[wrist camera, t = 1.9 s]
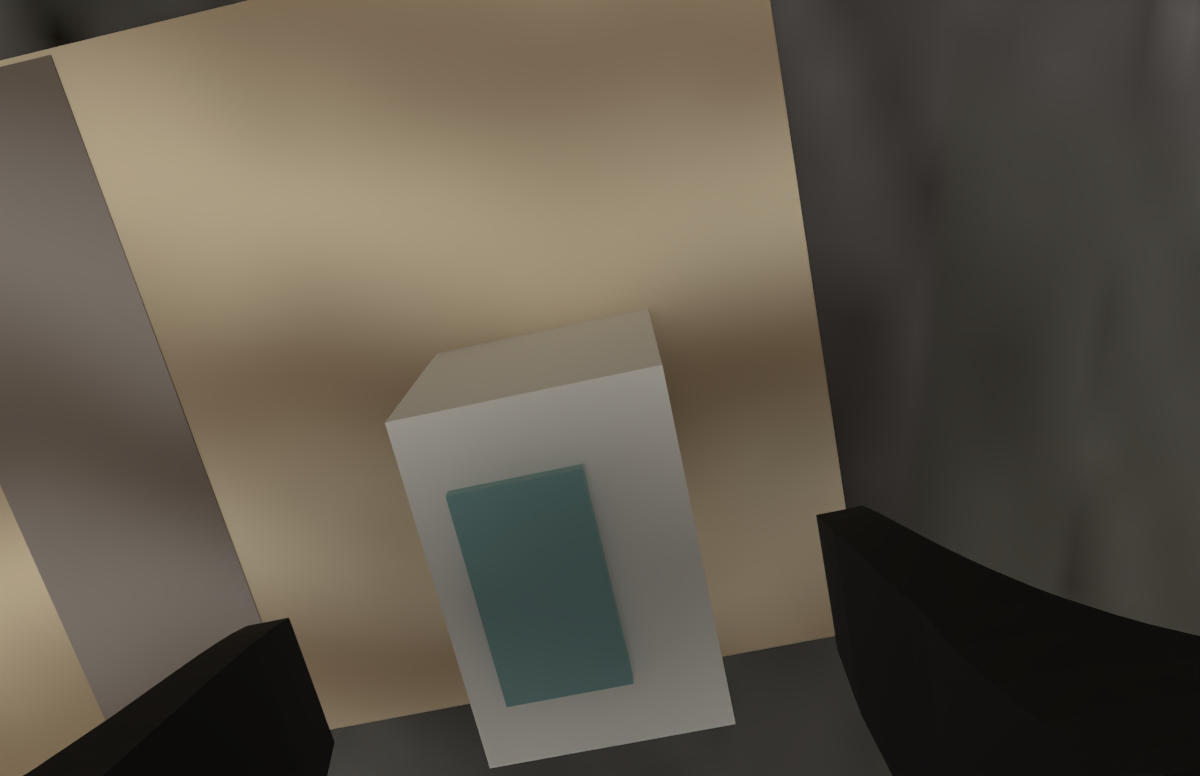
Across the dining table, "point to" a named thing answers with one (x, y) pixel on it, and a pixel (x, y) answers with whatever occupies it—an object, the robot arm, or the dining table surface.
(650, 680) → the block
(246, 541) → the subfloor panel
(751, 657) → the dining table surface
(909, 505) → the dining table surface
